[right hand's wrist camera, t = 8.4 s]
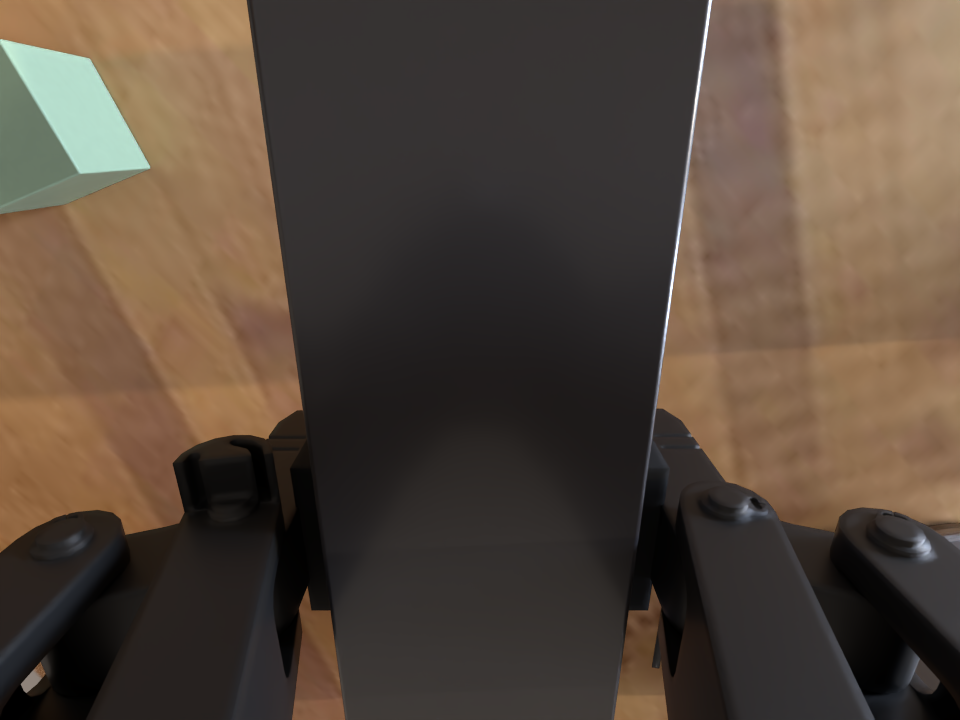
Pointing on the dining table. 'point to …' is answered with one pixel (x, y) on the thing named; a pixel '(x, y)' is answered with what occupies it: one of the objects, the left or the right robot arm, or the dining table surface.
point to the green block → (58, 130)
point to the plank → (479, 327)
